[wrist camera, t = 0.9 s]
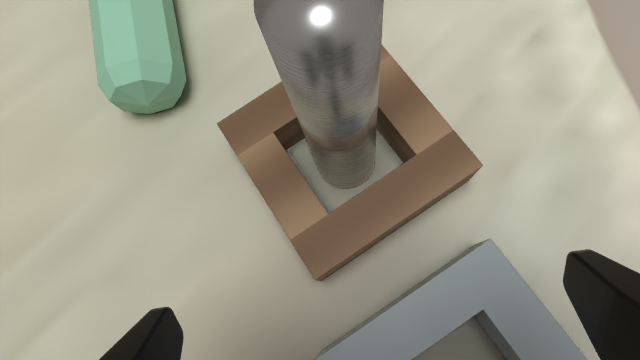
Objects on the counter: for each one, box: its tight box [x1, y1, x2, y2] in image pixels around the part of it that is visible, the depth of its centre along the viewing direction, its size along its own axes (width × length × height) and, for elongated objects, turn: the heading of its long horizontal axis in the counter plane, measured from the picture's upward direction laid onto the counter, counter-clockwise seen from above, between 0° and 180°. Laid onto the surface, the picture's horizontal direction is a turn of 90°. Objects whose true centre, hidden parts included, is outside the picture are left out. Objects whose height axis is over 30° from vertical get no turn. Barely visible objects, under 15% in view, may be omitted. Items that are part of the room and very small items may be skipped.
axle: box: [254, 0, 384, 189], centre depth 17 cm, size 3×3×14 cm
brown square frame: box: [217, 44, 483, 281], centre depth 22 cm, size 10×10×3 cm
